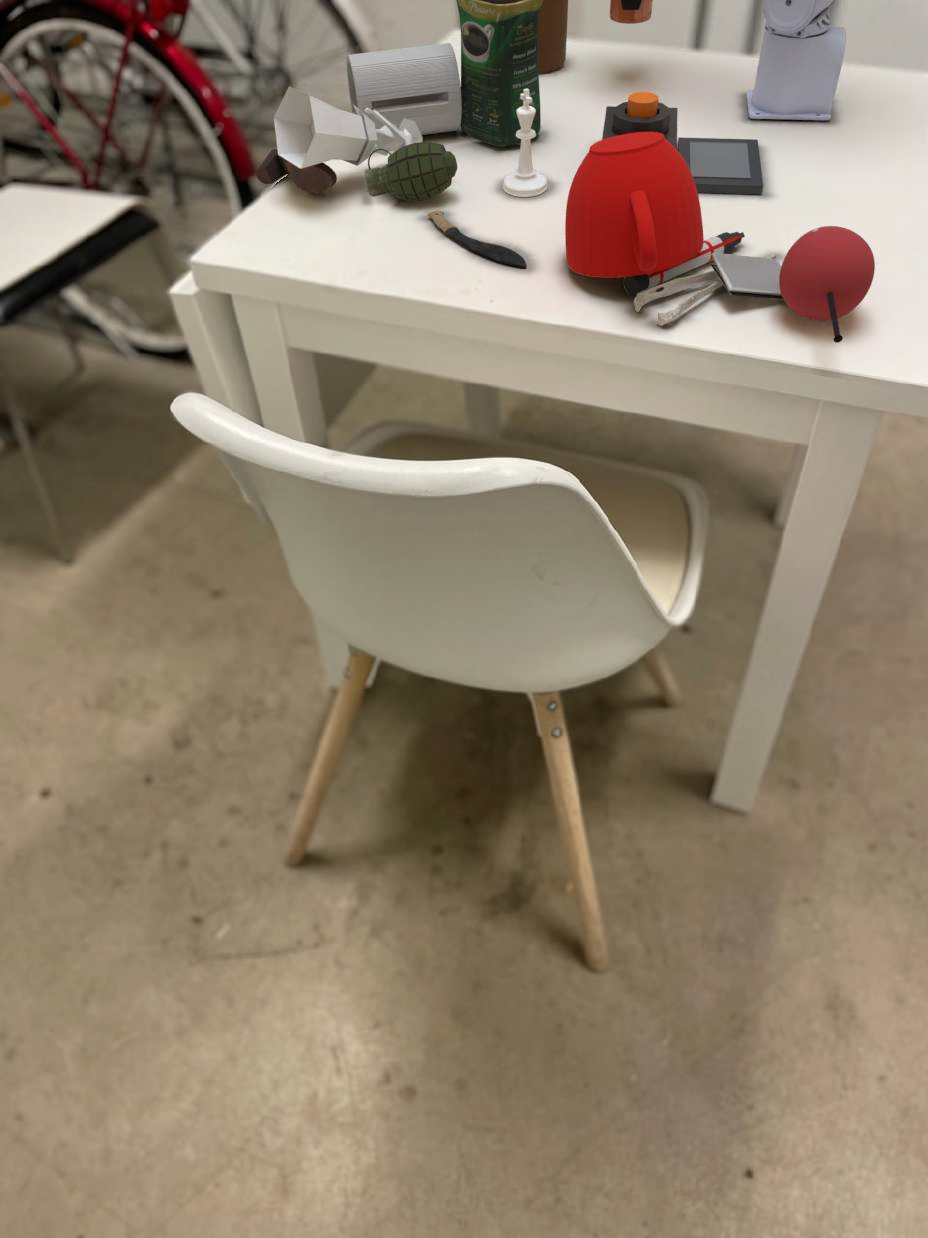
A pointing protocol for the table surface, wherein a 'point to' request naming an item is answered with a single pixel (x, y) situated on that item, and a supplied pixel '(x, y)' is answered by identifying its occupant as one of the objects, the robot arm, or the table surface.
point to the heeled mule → (296, 173)
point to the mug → (552, 35)
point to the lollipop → (827, 274)
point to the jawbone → (678, 286)
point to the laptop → (748, 275)
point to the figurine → (334, 132)
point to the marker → (712, 245)
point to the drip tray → (723, 164)
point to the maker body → (641, 122)
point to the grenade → (413, 172)
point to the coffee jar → (498, 67)
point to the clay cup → (630, 12)
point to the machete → (478, 243)
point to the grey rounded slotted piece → (408, 86)
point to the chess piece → (525, 156)
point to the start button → (642, 105)
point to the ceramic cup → (632, 208)
